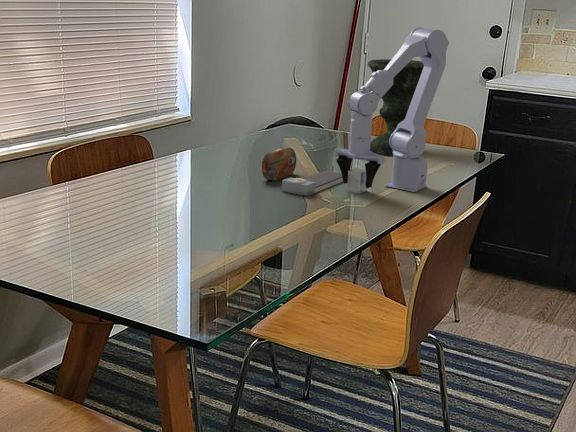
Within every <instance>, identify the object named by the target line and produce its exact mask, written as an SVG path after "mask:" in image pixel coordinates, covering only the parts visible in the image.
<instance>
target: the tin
mask: <svg viewBox="0 0 576 432" xmlns="http://www.w3.org/2000/svg"><path fill="white" fill-rule="evenodd" d="M296 164H297V155H296V152H295V150H294V149H293V148H292V147H281V148H278V149H275V150H272V151H268V152H266V154H265V155H264V156H263V159H262V161H261V171H262V176H263V177H264V178H265V180H268V181H273V182H276V181H280V180H281V179H282V180H283V179H286V178H288V177H289V176H292V174H293V173H294V172H295V169H296V166H297V165H296Z"/></svg>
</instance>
